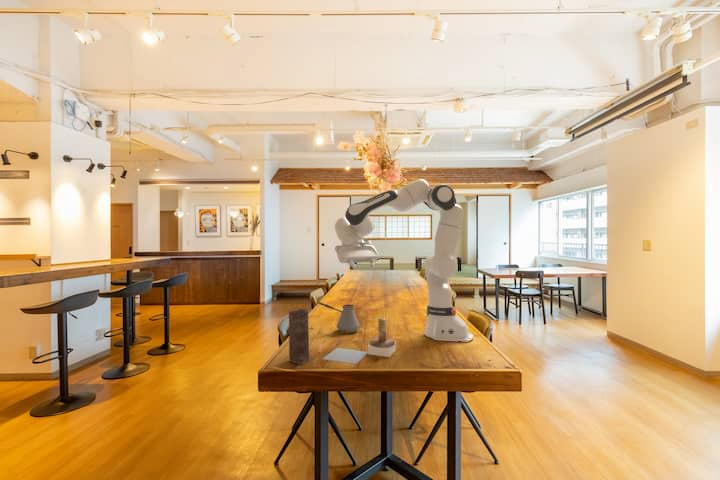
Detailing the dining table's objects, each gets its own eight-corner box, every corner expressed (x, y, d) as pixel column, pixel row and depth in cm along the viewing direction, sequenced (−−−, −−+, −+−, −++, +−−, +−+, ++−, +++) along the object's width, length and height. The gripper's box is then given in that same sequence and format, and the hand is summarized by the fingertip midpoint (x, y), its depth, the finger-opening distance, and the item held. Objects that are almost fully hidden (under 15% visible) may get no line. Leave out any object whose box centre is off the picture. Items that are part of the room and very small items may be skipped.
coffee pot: (358, 327, 178) (358, 299, 178) (360, 334, 167) (361, 303, 167) (316, 329, 176) (316, 299, 176) (316, 335, 164) (316, 304, 164)
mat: (368, 353, 139) (368, 352, 139) (355, 365, 126) (355, 363, 126) (337, 349, 144) (337, 347, 144) (321, 360, 131) (321, 358, 131)
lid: (397, 341, 142) (397, 317, 142) (390, 348, 133) (390, 323, 133) (374, 338, 146) (374, 315, 146) (366, 345, 136) (366, 320, 136)
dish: (395, 351, 142) (395, 341, 142) (389, 358, 133) (389, 348, 133) (375, 348, 145) (375, 339, 145) (367, 355, 137) (367, 345, 137)
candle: (291, 367, 124) (291, 312, 124) (286, 361, 130) (286, 308, 130) (312, 364, 127) (312, 310, 127) (305, 357, 134) (305, 306, 134)
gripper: (336, 240, 153) (347, 264, 145) (373, 240, 165) (385, 262, 157) (331, 250, 157) (342, 273, 149) (367, 249, 168) (379, 271, 160)
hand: (364, 268), depth 153 cm, fingers open, 8 cm apart
